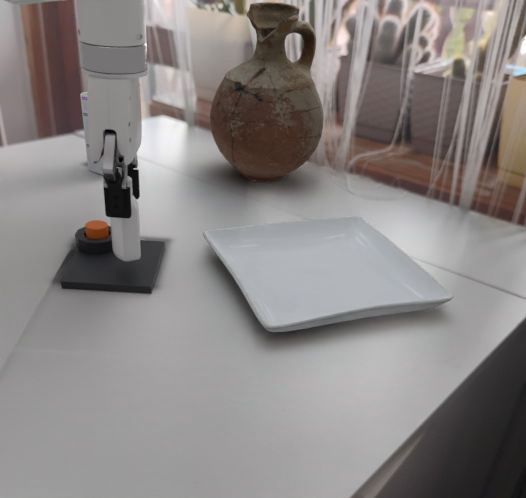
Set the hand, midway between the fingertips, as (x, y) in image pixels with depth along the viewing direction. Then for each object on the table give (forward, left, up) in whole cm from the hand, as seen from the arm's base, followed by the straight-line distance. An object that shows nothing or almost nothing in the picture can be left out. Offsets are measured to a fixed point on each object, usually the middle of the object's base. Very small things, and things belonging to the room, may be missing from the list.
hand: (123, 205), depth 82 cm
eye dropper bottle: (0, 0, -7) cm, 7 cm away
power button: (-5, +6, -8) cm, 11 cm away
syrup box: (-11, +41, -10) cm, 44 cm away
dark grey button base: (-2, +2, -10) cm, 11 cm away
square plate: (+27, +1, -10) cm, 29 cm away
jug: (+19, +45, -10) cm, 50 cm away
